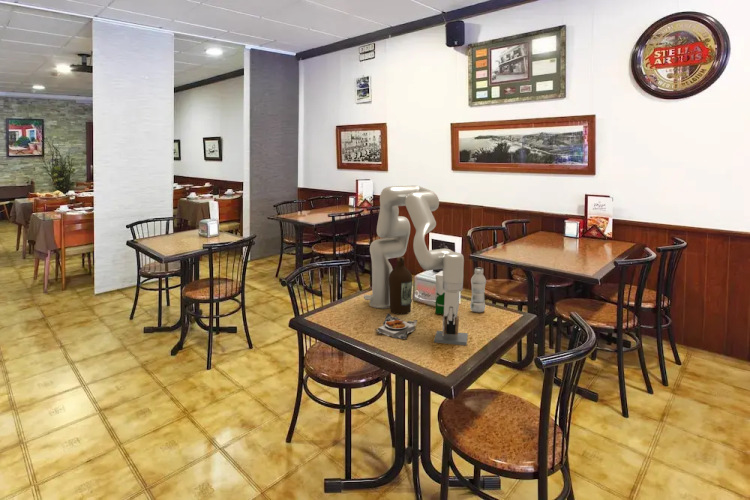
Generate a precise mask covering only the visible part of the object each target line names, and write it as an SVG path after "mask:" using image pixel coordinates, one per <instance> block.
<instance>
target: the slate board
mask: <svg viewBox="0 0 750 500" xmlns="http://www.w3.org/2000/svg"><path fill="white" fill-rule="evenodd" d="M468 335H469V333H468V332H459V331H458V335H451V334H444V336H442V330H436V331H435V336H434V339H433V343H437V344H448V345H460V346H468V337H469V336H468Z"/></svg>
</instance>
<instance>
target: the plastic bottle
mask: <svg viewBox="0 0 750 500" xmlns="http://www.w3.org/2000/svg"><path fill="white" fill-rule="evenodd" d="M470 283H471V297H470V298H471V300H470V303H469V304H470V305H469V306H470V311H471V312H474V313H483V312H485V309H486V303H485V288H486V284H487V279H486V277H485V275H484V268H483V267H475V268H474V274H473V275H472V277H471V279H470Z"/></svg>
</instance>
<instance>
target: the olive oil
mask: <svg viewBox="0 0 750 500" xmlns="http://www.w3.org/2000/svg"><path fill="white" fill-rule="evenodd" d="M412 290H413V274H412V272H411V271H410V270H409V269H408V268H407V266H406V265H405V257H404V256H401V257H396V266H395V267H394V268H392V271H391V273H390V275H389V294H390V308H389V311H390V313H391V314H395V315H407V314H410V313H411V309H412V302H413V298H412V292H413V291H412Z"/></svg>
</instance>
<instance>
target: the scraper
mask: <svg viewBox="0 0 750 500" xmlns="http://www.w3.org/2000/svg"><path fill="white" fill-rule="evenodd" d="M447 319H448V315H447V316H445V317H444V315H443V316H442V328H441V329H442V330H441V331H442V336H444V334H447ZM452 319H454V318H452ZM459 319H460V316H459V315H457V317H455V324H456V326H455V335H458V332H459V322H460V321H459ZM451 335H453V334H451Z"/></svg>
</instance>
